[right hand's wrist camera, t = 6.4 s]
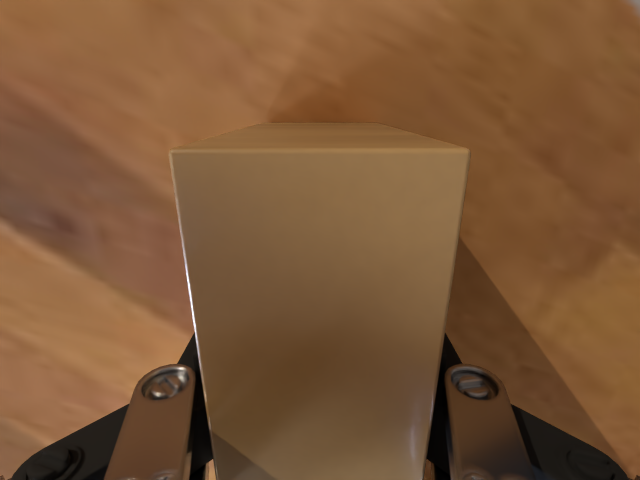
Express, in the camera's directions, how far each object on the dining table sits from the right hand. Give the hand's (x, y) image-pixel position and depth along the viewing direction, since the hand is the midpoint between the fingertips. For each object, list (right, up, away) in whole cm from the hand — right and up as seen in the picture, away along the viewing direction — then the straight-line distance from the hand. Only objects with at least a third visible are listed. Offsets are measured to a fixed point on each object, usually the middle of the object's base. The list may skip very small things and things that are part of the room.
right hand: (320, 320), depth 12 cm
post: (0, -19, +11) cm, 22 cm away
